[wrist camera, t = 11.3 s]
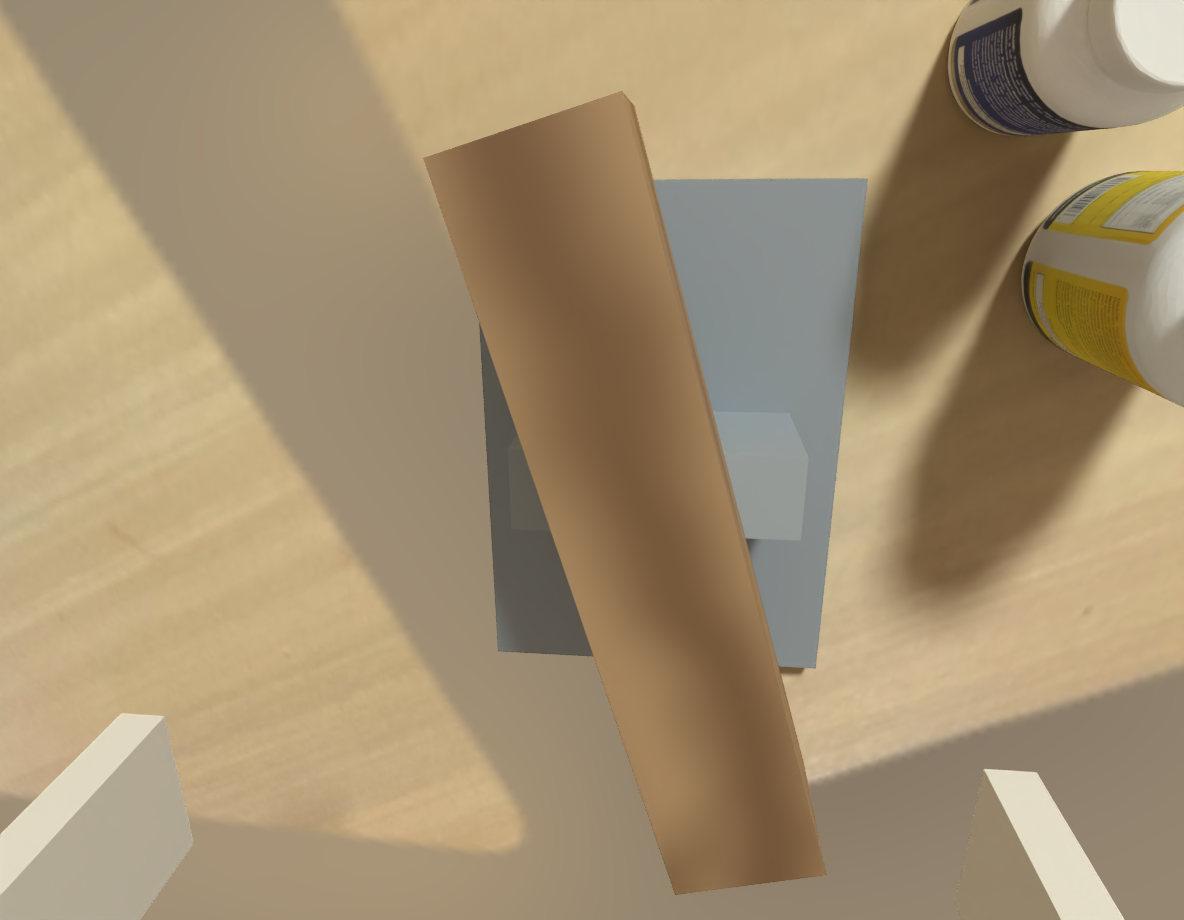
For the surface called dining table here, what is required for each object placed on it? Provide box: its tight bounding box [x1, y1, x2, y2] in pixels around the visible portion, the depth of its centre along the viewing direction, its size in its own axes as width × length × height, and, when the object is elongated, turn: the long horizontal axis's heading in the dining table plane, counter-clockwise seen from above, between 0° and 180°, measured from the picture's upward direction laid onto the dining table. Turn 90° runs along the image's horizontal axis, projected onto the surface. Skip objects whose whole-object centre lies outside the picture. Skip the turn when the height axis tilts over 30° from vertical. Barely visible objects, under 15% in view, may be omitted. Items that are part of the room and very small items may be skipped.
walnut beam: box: [423, 91, 826, 895], centre depth 25 cm, size 5×24×5 cm, turn 16°
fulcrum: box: [479, 179, 868, 669], centre depth 30 cm, size 14×20×6 cm
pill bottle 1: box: [948, 0, 1184, 137], centre depth 22 cm, size 5×5×10 cm
